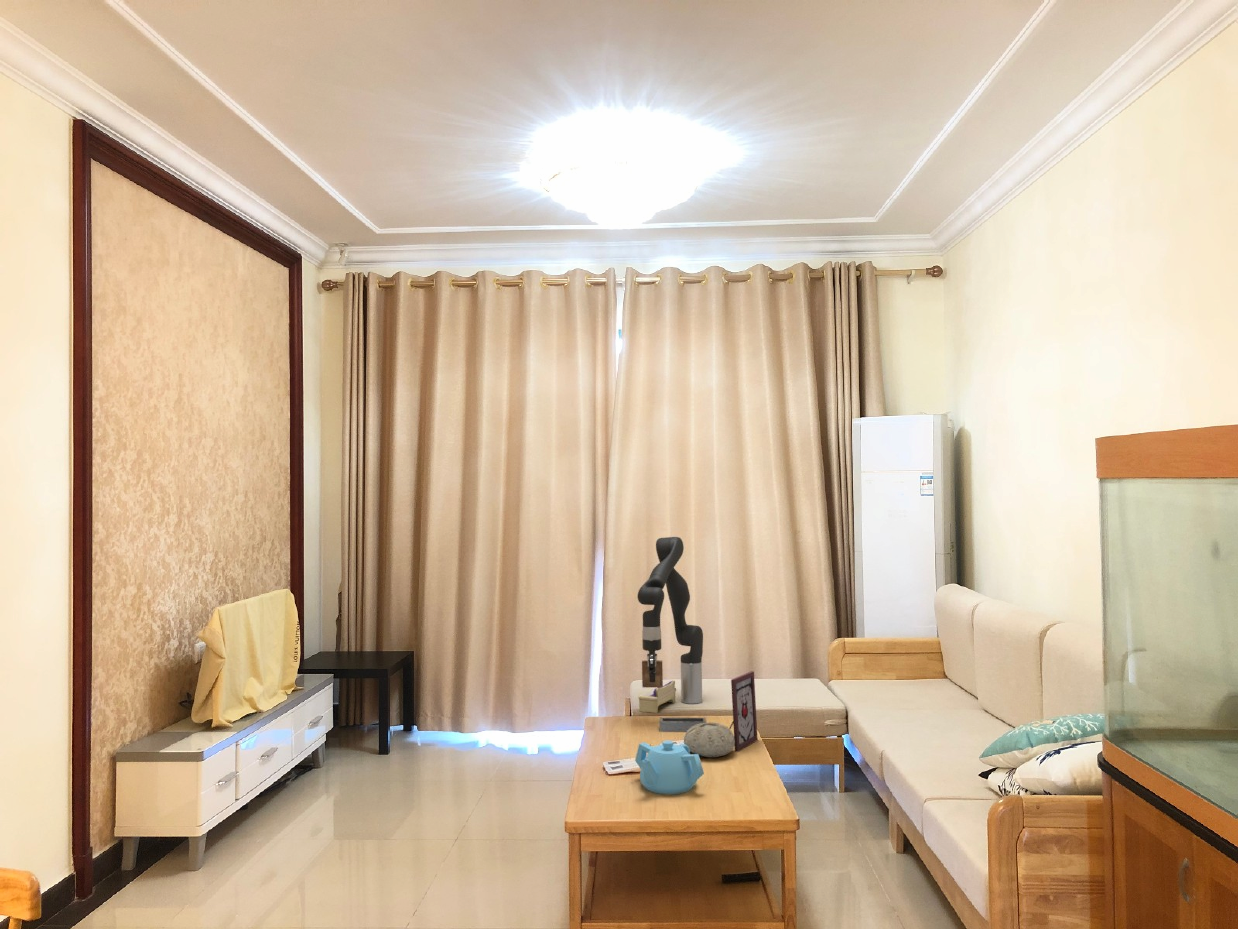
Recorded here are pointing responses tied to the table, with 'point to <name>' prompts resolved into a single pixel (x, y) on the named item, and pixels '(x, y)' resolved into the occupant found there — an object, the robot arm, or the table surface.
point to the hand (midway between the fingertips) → (652, 681)
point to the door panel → (646, 675)
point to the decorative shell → (709, 739)
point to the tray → (679, 724)
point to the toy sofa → (657, 698)
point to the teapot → (668, 767)
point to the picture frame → (744, 710)
